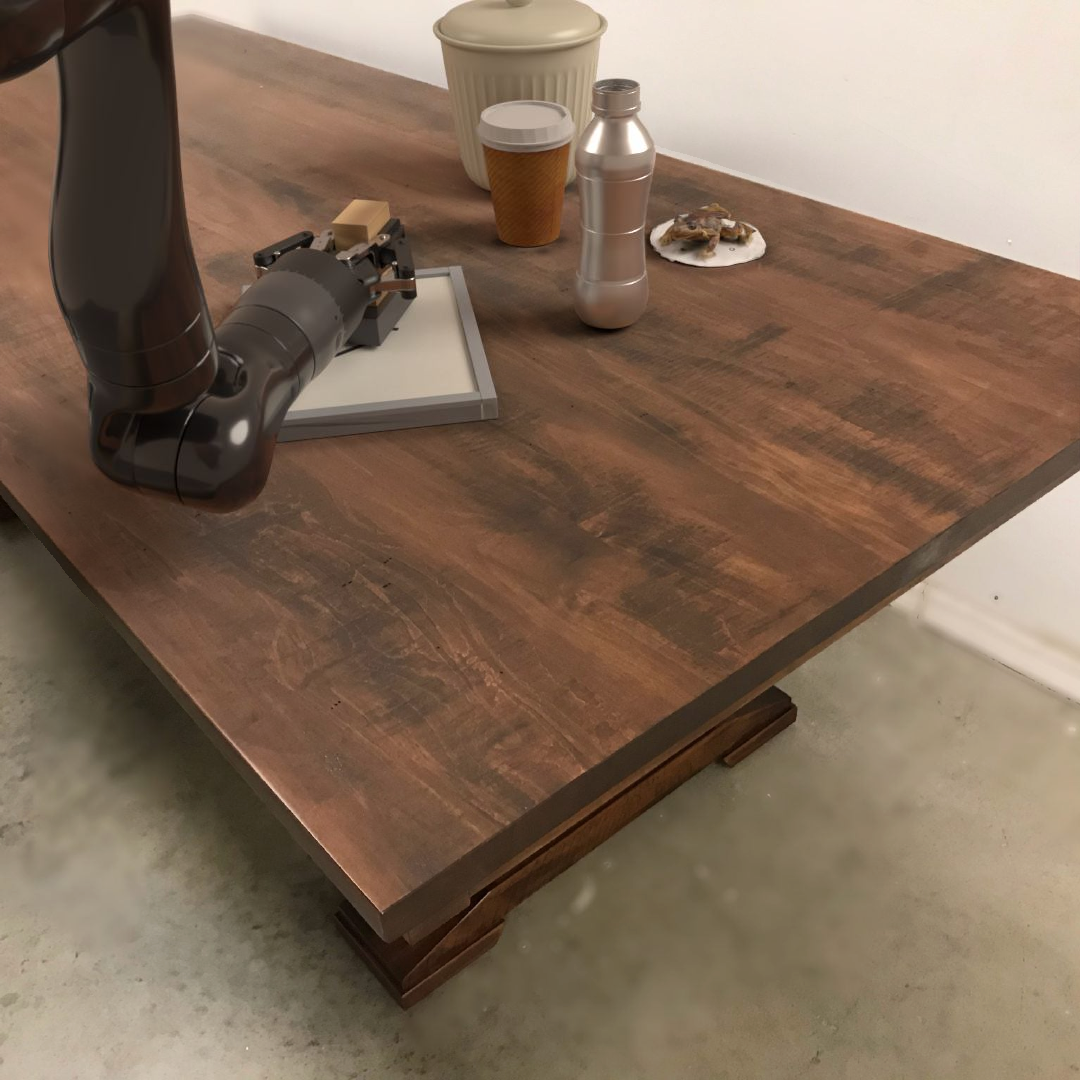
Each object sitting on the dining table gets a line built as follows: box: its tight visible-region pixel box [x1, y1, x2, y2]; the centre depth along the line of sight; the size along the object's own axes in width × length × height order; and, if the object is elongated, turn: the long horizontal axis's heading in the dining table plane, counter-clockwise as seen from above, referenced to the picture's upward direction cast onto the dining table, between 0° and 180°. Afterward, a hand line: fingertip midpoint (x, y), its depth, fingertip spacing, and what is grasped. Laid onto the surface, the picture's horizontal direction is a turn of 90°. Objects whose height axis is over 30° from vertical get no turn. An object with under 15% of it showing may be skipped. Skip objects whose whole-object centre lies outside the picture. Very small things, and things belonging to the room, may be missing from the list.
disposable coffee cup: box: [476, 100, 576, 248], centre depth 108 cm, size 10×10×12 cm
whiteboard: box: [240, 265, 499, 443], centre depth 92 cm, size 20×24×2 cm
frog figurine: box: [649, 203, 767, 268], centre depth 108 cm, size 12×12×4 cm
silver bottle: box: [571, 77, 657, 329], centre depth 91 cm, size 6×7×20 cm
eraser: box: [331, 199, 414, 346], centre depth 91 cm, size 4×9×10 cm, turn 166°
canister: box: [432, 0, 609, 192], centre depth 117 cm, size 18×18×21 cm
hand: (376, 227), depth 92 cm, fingers closed on eraser, 3 cm apart
